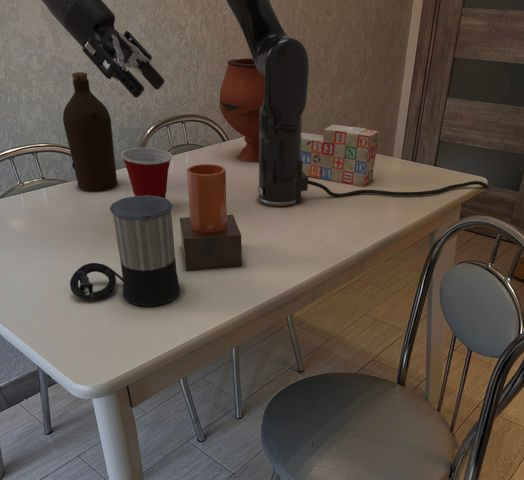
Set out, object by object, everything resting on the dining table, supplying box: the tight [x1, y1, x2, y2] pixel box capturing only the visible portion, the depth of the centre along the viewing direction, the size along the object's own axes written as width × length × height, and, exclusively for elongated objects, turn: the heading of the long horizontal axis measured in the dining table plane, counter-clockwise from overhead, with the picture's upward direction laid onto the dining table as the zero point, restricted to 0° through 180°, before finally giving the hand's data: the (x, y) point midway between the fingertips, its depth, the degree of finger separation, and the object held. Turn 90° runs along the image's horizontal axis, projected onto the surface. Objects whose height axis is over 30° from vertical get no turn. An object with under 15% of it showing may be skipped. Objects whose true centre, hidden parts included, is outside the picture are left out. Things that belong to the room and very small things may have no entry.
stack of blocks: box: [300, 124, 380, 187], centre depth 136 cm, size 21×6×12 cm, turn 60°
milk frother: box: [69, 195, 181, 307], centre depth 83 cm, size 14×16×15 cm
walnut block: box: [179, 213, 243, 271], centre depth 97 cm, size 10×10×6 cm
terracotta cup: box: [186, 163, 228, 233], centre depth 93 cm, size 6×6×10 cm
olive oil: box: [62, 71, 118, 192], centre depth 125 cm, size 11×11×25 cm
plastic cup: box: [120, 147, 173, 199], centre depth 116 cm, size 11×11×12 cm
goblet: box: [218, 57, 265, 162], centre depth 147 cm, size 19×19×25 cm
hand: (151, 89), depth 92 cm, fingers open, 8 cm apart
